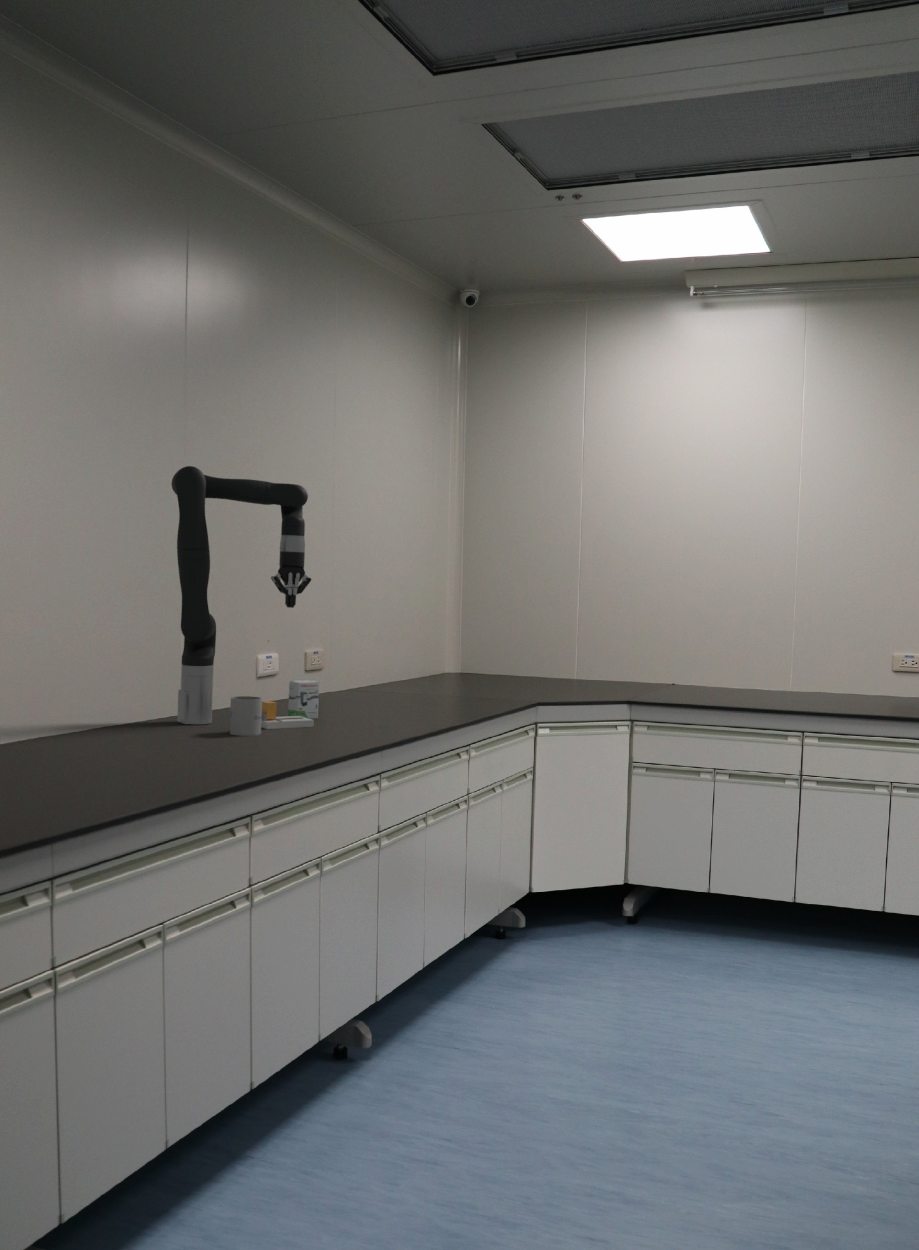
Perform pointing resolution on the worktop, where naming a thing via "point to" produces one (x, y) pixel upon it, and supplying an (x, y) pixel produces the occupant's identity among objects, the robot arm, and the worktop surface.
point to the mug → (245, 715)
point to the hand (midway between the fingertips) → (290, 607)
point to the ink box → (303, 698)
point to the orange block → (269, 709)
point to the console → (285, 722)
